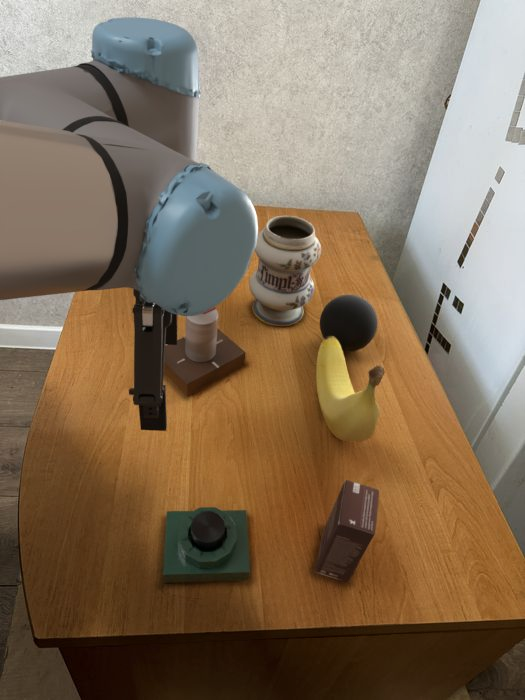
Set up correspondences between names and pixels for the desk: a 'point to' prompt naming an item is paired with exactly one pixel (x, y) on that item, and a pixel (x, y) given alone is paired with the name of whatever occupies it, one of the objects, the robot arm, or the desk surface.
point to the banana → (345, 395)
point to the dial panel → (201, 364)
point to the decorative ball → (349, 322)
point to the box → (348, 531)
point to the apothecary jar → (284, 270)
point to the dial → (201, 335)
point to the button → (207, 530)
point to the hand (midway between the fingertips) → (160, 382)
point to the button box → (206, 565)
